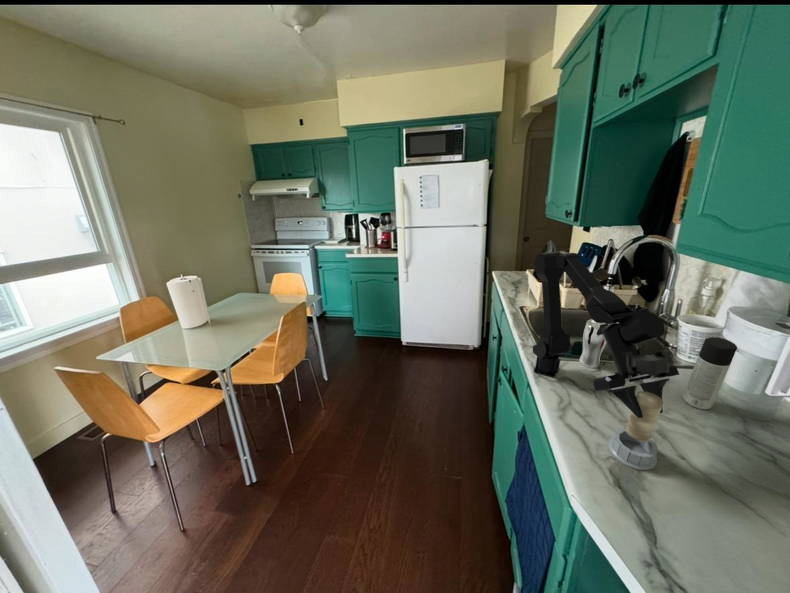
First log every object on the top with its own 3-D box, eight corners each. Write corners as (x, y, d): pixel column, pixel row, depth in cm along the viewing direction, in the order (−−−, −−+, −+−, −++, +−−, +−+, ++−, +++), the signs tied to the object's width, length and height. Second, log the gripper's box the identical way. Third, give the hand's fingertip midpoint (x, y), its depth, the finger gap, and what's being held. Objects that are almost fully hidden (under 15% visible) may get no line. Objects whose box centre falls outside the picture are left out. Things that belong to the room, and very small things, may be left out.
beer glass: (602, 370, 116) (612, 330, 110) (578, 366, 119) (587, 327, 112) (599, 358, 122) (608, 320, 116) (576, 355, 125) (584, 317, 118)
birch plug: (621, 432, 85) (632, 397, 80) (630, 422, 88) (641, 388, 83) (645, 445, 81) (658, 409, 77) (653, 434, 84) (666, 399, 80)
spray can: (718, 409, 99) (745, 348, 91) (695, 411, 99) (720, 350, 90) (697, 393, 105) (721, 335, 97) (676, 395, 105) (698, 336, 96)
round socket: (607, 459, 85) (610, 448, 84) (609, 431, 93) (612, 421, 92) (657, 477, 81) (662, 465, 79) (655, 446, 88) (659, 435, 87)
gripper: (613, 346, 76) (644, 422, 71) (684, 333, 80) (718, 405, 75) (581, 357, 86) (605, 424, 81) (645, 345, 90) (672, 408, 85)
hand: (650, 415), depth 80 cm, fingers closed on birch plug, 5 cm apart
